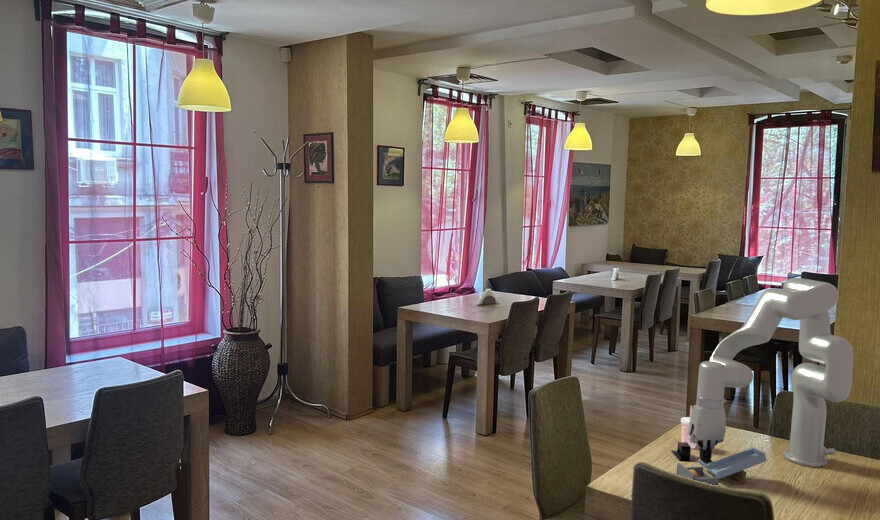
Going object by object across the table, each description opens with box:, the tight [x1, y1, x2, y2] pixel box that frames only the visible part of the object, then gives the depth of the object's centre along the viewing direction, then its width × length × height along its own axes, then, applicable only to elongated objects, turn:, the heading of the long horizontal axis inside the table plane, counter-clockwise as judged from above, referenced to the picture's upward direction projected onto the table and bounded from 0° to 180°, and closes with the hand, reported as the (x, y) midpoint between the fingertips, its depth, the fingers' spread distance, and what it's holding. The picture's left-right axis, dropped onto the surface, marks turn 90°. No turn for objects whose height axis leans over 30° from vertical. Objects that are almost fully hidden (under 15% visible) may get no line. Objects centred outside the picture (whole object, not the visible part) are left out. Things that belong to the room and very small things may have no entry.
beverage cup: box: [680, 405, 697, 449], centre depth 227 cm, size 6×6×14 cm
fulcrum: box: [723, 470, 753, 486], centre depth 201 cm, size 6×7×4 cm
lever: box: [697, 446, 767, 480], centre depth 204 cm, size 16×11×3 cm
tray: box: [676, 462, 720, 486], centre depth 199 cm, size 8×8×4 cm
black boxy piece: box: [670, 441, 697, 463], centre depth 218 cm, size 12×7×5 cm, turn 178°
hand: (705, 460), depth 206 cm, fingers closed
